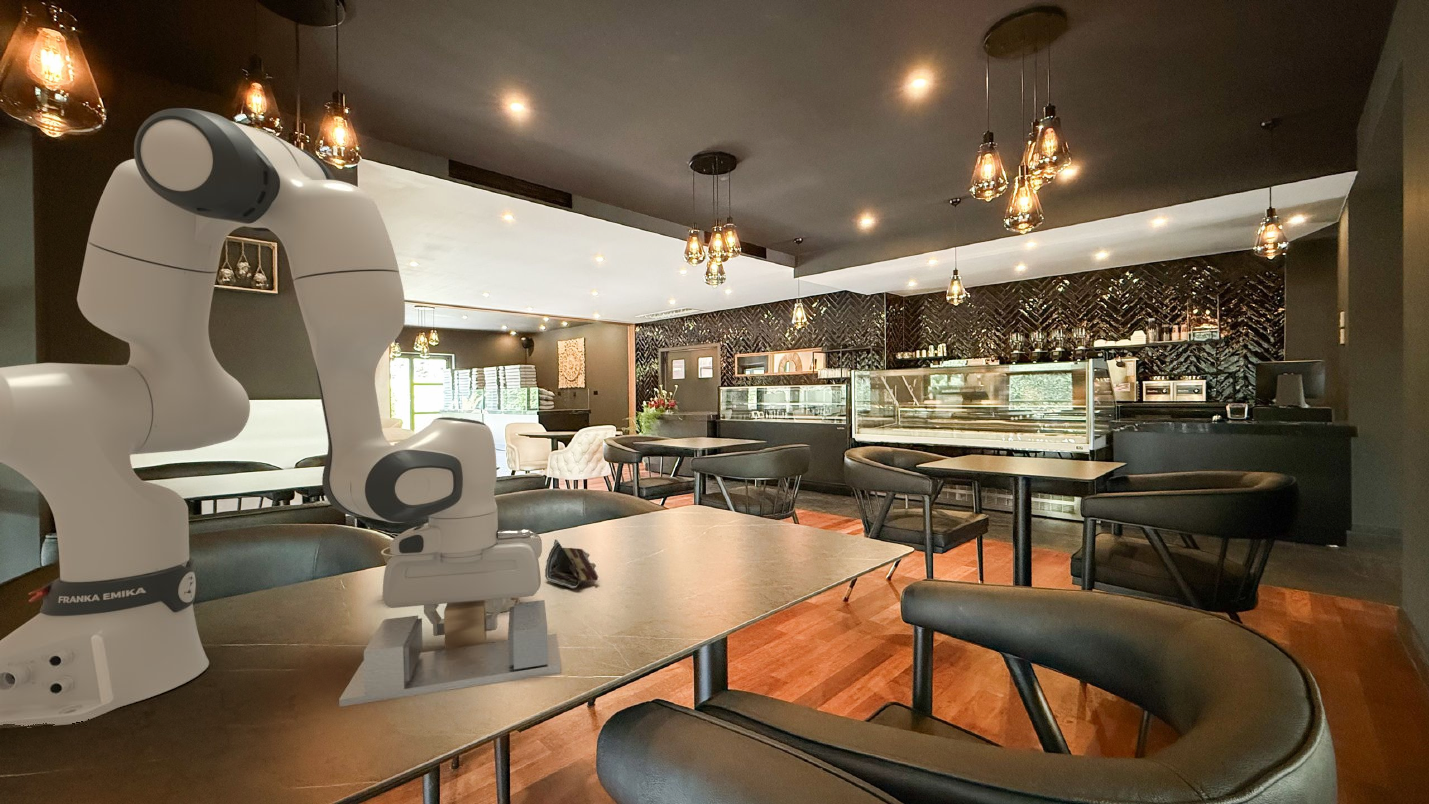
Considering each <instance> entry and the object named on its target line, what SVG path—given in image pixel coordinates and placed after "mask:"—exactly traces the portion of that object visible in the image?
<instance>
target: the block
mask: <svg viewBox="0 0 1429 804" xmlns="http://www.w3.org/2000/svg"><path fill="white" fill-rule="evenodd" d="M486 615H487V613H486V600H481V601H469V602H457V603H446V606H445V608H444V610H443V619H444V631H445V635H444V650H445V649H452V648H459V647H466V646H473V645H480V644H487V640H488V639H487V634H488V633H487V631H485V618H486Z"/></svg>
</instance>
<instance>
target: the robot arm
mask: <svg viewBox="0 0 1429 804" xmlns="http://www.w3.org/2000/svg"><path fill="white" fill-rule="evenodd" d="M133 142H134V143H133V157H134V158H131V159H128V160H125V161H123V162H121V163H120V164H118V165H117V166H116V167H115V169H114V170H113V172H112V174H111V176H110V178H109V180H108V181H107V183H106V186H105V188H104V190H103V191H102V192H103V193H102V195H101V196H100V200H98V201H99V202H98V204H97V207H96V208H95V213H94V216H93V219H92V222H91V225H90V230H89V235H88V240H87V244H86V249H85V254H84V260H83V265H82V270H81V275H80V280H79V286H78V291H77V297H76V302H77V305H78V308H79V310H80V312H81V314H82V315H83V317H84V318H85V319H86V320H87V321H88V322H89V323H91V324H92V325H93V326H95V327H97V329H100V330H101V331H102V332H105V333H107V334H109V335H110V336H113V337H115V338H117V339H119V340H120V341H123V342H125V343H128V345H129V352H130V353H129V359H128V362H127V363H126V364H121V365H119V364H117V365H116V364H94V363H93V364H91V363H89V364H87V363H86V364H85V363H63V362H62V363H61V362H43V363H31V364H22V365H21V364H19V365H13V366H12V365H11V366H4V367H3V366H1V367H0V464H4V465H6V466H7V467H9V468H11V469H12V470H14V471H16V472H18V473H19V474H21V475H22V476H23V477H24V478H25V479H27V480H28V481H29V482H31V484H32V485H34V487H36V488H37V489H38V491H39V492H40V493H41V494H42V495H43V497H44V499H45V501H46V502H47V503H48V506H49V507H50V510H51V513H52V515H53V518H54V524H55V530H56V538H57V546H58V547H57V548H58V558H59V561H58V562H59V577H58V578H55V579H54V580H52V581H50V582H48V583H46V584H44V585H42V587H41V588H38V589H35V590H33V591H31V592H28V595H34V594H36V595H34V596H32V597H31V598H30V599H28V602H30V603H32V602H35V601H38V600H41V599H42V602H43V603H42V605H41V607H40V609H39V613H38V614H37V615H34V617H32V618H31V619H30V620H29V619H28V621H26V622H25V623H24V624H22V625H21V626H19V627H18V628H16V629H15V630H13V631H12V632H10V633H9V634H8V635H6V636H5V637H3V638H1V640H0V725H3V724H15V725H21V726H23V725H24V726H28V725H29V726H30V725H33V724H34V725H35V724H43V723H44V724H45V723H47V724H55V725H54V726H62V725H63V726H64V725H73V724H72V723H75V724H77V723H76V722H80V723H82V722H81V721H83V722H87V721H89V720H91V719H94V718H96V717H99V716H102V715H104V714H107V713H108V712H111V711H114V710H116V709H118V708H120V707H123V706H127V705H130V704H134V703H136V702H140V701H143V700H146V699H149V698H151V697H152V698H153V697H154V696H157V695H160V694H162V693H165V692H168V691H170V690H172V689H175V688H177V687H179V686H182V685H184V684H186V683H187V682H190V681H191V680H193V679H195V678H196V677H198V676H199V675H200V674H202V673H203V672H204V671H206V670H207V668H208V667H209V665H210V660H209V658H208V656H207V655H206V652H205V650H204V648H203V643H202V641H201V638H200V634H199V632H198V627H197V622H196V617H195V612H194V611H195V610H194V605H193V603H194V602H195V600H196V599H195V597H196V589H197V587H196V586H197V584H196V583H197V582H196V581H197V580H196V576H195V575H196V574H195V563H194V562H195V560H194V559H193V558H192V557H190V542H189V541H190V530H189V529H190V528H189V526H190V525H189V524H190V523H189V506H188V504H187V502H186V500H185V499H184V498H183V497H182V495H180V494H179V493H177V492H176V491H174V490H173V489H170V488H168V487H166V486H163V485H160V484H156V483H152V482H149V481H146V480H142V479H141V478H140V477H139V476H138V474H136V473H135V470H134V468H133V466H132V463H131V456H132V455H143V454H144V455H145V454H155V453H170V452H171V453H172V452H180V451H181V452H183V451H192V450H193V451H194V450H196V449H201V448H206V447H209V446H214V445H218V444H221V443H224V442H228V441H232V440H234V439H236V437H238V436H239V435H240V433H241V432H242V431H243V429H244V428H245V427H246V425H247V423H248V421H249V418H250V414H251V403H250V402H251V401H250V399H249V396H248V393H247V391H246V390H245V388H244V387H243V385H242V384H241V382H239V381H238V380H237V379H236V378H235V377H234V376H232V375H231V374H229V373H228V372H227V371H226V370H225V368H224V367H222V365H221V363H220V362H219V360H218V359H217V358H216V356H215V353H214V350H213V349H212V345H211V341H210V335H209V321H210V314H211V306H212V301H213V296H214V295H213V294H214V289H215V284H216V279H217V276H218V270H219V266H220V260H221V254H222V249H223V246H224V244H225V240H226V239H227V238H228V236H229V235H230V234H231V233H232V232H233V231H235V230H237V229H239V228H242V227H246V228H250V229H252V230H254V231H256V232H272V233H273V234H274V235H275V236H277V238H278V239H279V240H280V243H281V244H282V245H283V247H284V250H285V254H286V256H287V261H288V263H289V265H288V266H289V269H290V274H291V279H292V282H293V286H294V287H293V288H294V290H295V294H296V298H297V301H298V305H299V309H300V312H301V315H302V319H303V323H304V327H305V329H306V332H307V335H308V339H309V343H310V348H311V353H312V357H313V359H314V363H315V371H316V378H317V383H318V390H319V394H320V402H321V406H322V411H323V412H322V413H323V417H324V422H325V428H326V434H327V444H328V445H327V454H326V459H325V463H324V467H323V472H322V477H321V479H322V481H321V483H322V491H323V493H324V496H325V499H326V500H327V501H328V503H329V504H330V505H331V506H332V507H333V508H334V509H335V510H337V511H338V512H341V513H342V514H344V515H348V516H352V517H364V518H370V519H372V520H379V521H384V522H387V523H392V524H393V523H394V524H396V523H397V524H399V523H400V524H401V523H407V522H412V521H416V520H419V519H423V518H426V517H428V522H426V523H424V524H420V525H418V526H414V527H412V528H409V529H407V530H404V531H403V532H402V533H401V532H400V534H398V535H397V536H396V537H394V538H393V539H392V540H391V542H390V544H389V547H390V551H391V553H392V554H393V555H394V556H393V557H392V558H391V559H390V560H389V561H388V562H387V563H386V565H385V568H384V571H383V572H384V573H383V579H382V580H383V581H382V601H383V603H384V604H385V605H386V606H387V608H388V609H394V608H395V609H396V608H405V607H417V606H419V607H420V606H423V614H424V615H425V617H427V620H429V622H430V623H431V624H432V633H433V636H434V637H435V636H436V637H437V636H445V631H444V618H442V617H441V616H440V614H439V612H438V611H437V609H438V607H439V605H440V604H441V605H442V604H447V603H457V602H469V601H481V600H493V607H496V606H497V607H496V609H495V611H494V613H490V614H486V618H485V631H486V632H491V631H497V628H498V624H499V623H498V620H499V619H498V616H499V614H501V612H500V611H501V609H502V607H503V605H504V603H505V598H517V597H520V598H526V597H527V598H528V597H533V596H535V595H536V594H537V593H538V591H539V590H540V589H541V586H542V585H541V583H542V581H541V569H540V563H539V559H540V558H541V556H542V553H543V552H542V551H543V545H542V544H543V542H542V538H541V536H540V535H539V534H538V533H536V532H533V531H532V530H531V529H528V528H527V529H525V528H524V529H520V530H519V529H518V530H510V529H509V530H498V529H499V527H498V525H499V523H498V517H499V516H498V505H497V501H496V498H495V488H496V484H497V480H498V479H497V478H498V476H497V475H498V474H497V473H498V472H497V471H498V467H497V454H496V453H497V452H496V446H495V440H494V434H493V432H492V430H491V428H490V426H488V425H487V424H486V423H484V422H481V421H479V420H476V419H475V420H474V419H468V418H462V417H461V418H458V417H452V416H451V417H450V416H449V417H448V416H447V417H445V416H444V417H443V416H442V417H437V418H434V419H433V420H432V422H431V423H430V424H429V425H428V426H426V427H424V428H423V429H421V430H420V431H419V432H416V433H415V434H413V435H411V436H409V437H407V438H404V439H403V440H401V441H398V442H395V443H394V444H391V443H390V442H389V441H388V439H387V438H386V436H385V434H384V432H383V426H382V421H381V420H382V419H381V414H380V407H379V401H378V396H377V395H378V394H377V388H376V372H377V368H378V365H379V362H380V360H381V359H382V357H383V355H384V354H385V353H386V351H387V350H388V348H389V347H390V346H391V345H392V344H393V343H394V342H395V341H396V339H397V338H398V337H399V335H400V334H401V333H402V331H403V328H404V326H405V322H406V321H405V320H406V319H405V317H406V315H405V314H406V302H405V301H406V300H405V293H404V288H403V282H402V278H401V277H402V276H401V274H400V269H399V265H398V261H397V257H396V254H395V250H394V248H393V244H392V241H391V238H390V235H389V232H388V229H387V228H386V225H385V222H384V219H383V217H382V215H381V213H380V210H379V209H378V206H377V204H376V202H375V201H374V199H373V198H372V197H371V196H370V194H368V193H367V192H366V191H365V190H364V189H362V188H360V187H358V186H357V185H354V184H351V183H349V182H345V181H341V180H337V179H336V178H335V176H334V175H333V173H332V171H331V170H329V168H328V167H327V166H326V165H325V164H324V163H323V162H322V161H321V160H319V158H317V157H315V156H314V155H313V154H312V153H310V152H308V151H307V150H305V149H303V148H300V147H297V146H295V145H293V144H292V143H289V142H287V141H286V140H284V139H282V138H281V137H278V136H276V135H274V134H272V133H270V132H268V131H265V130H263V129H261V128H260V129H259V128H254V127H251V126H247V125H246V124H242V123H238V122H235V121H232V120H229V119H228V118H226V117H224V116H222V115H220V114H217V113H213V112H209V111H205V110H201V109H194V108H185V107H184V108H183V107H182V108H181V107H179V108H178V107H176V108H175V107H174V108H167V109H162V110H160V111H157V112H155V113H153V114H151V115H150V116H148V118H147V119H145V120H144V122H143V123H142V124H141V125H140V127H139V128H138V130H137V133H136V135H135V138H134V141H133ZM88 719H89V720H88Z"/></svg>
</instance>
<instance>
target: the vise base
mask: <svg viewBox="0 0 1429 804" xmlns="http://www.w3.org/2000/svg"><path fill="white" fill-rule="evenodd" d="M547 638H548V664H546V665H540V666H533V667H527V668H520V669H514V665H510V666H509V652H508V640H503V641H495V642H488V643H487V642H486V644H480V645H473V646H466V647H459V648H452V649H445V648H444V649H440V650H439V649H438V650H431V651H424V652H422V651H423V649H424V648H423V618H422V617H421V618H419V615H410V616H409V615H408V616H402V617H395V618H386V619H383V621H382V622H381V624H380V625H379V627H378V628H377V629H376V632H375V633H374V634H373V636H372V637H371V640H370V641H369V643H368V644H367V646H366V647H365V649H364V650H363V661H362V662H361V663H360V665H359V666H358V668H357V670H356V671H355V673H354V675H353V676H352V678H351V680H350V681H349V683H348V685H347V686H346V688H345V689H344V691H343V692H342V694H341V696H340V697H339V698H338V704H339V705H338V707H345V706H347V707H348V706H354V705H361V704H368V703H374V702H380V701H387V700H393V699H399V698H406V697H412V696H420V695H425V694H426V695H427V694H431V693H440V692H444V691H445V692H446V691H451V690H458V689H465V688H466V689H467V688H472V687H478V686H479V687H480V686H485V685H492V684H498V683H505V682H511V681H519V680H525V679H532V678H537V677H538V678H539V677H545V676H550V675H551V676H553V675H557V674H561V668H562V667H561V665H562V664H561V659H560V652H559V651H560V650H559V645H558V638H557V633H552V634H547Z"/></svg>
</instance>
